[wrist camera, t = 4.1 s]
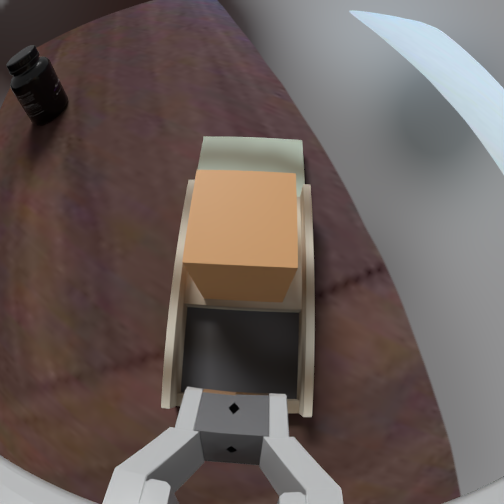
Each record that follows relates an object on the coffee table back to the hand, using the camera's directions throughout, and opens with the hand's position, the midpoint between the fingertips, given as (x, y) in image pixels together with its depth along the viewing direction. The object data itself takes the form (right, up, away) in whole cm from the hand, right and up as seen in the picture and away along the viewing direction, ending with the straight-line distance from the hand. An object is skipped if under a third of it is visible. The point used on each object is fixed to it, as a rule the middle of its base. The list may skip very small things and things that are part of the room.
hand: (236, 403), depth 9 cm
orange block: (0, +4, +16) cm, 16 cm away
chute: (0, +4, +17) cm, 18 cm away
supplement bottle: (-30, +26, +26) cm, 48 cm away
